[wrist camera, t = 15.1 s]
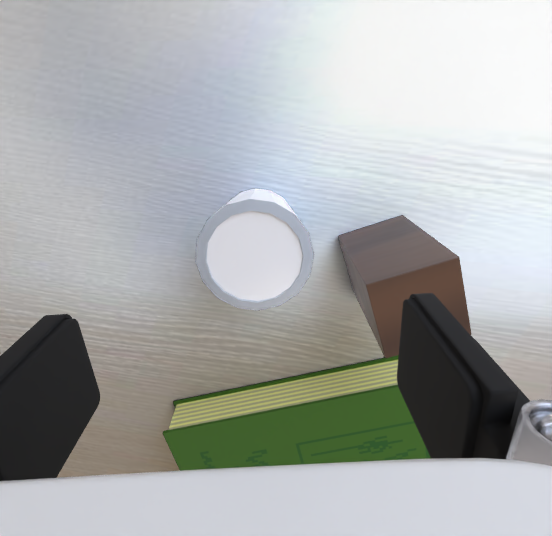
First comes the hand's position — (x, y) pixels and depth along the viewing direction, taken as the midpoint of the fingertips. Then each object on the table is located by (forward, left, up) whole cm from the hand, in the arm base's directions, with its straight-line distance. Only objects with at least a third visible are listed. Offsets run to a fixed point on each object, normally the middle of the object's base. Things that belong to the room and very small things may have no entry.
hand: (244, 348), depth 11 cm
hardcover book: (+24, +5, -18) cm, 31 cm away
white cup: (+1, 0, -18) cm, 18 cm away
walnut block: (+4, +9, -18) cm, 20 cm away
